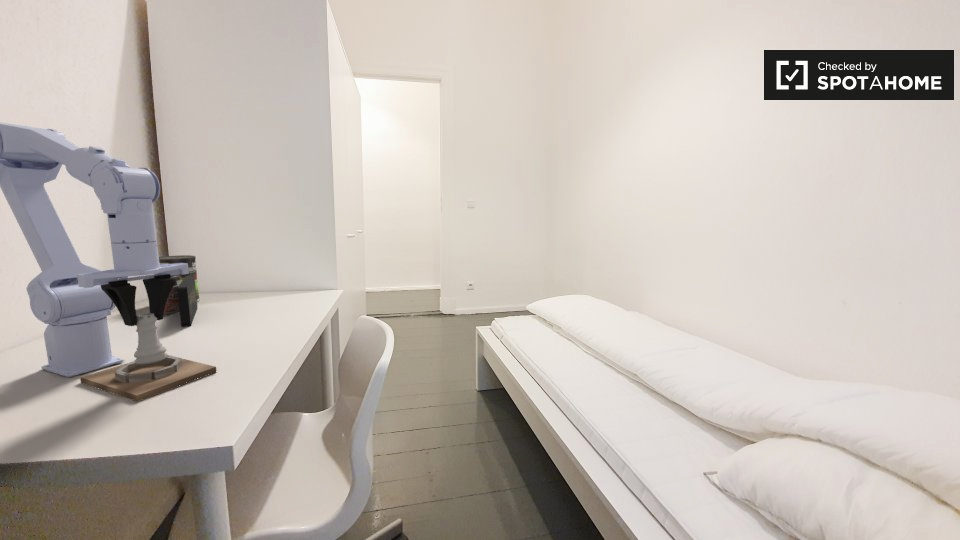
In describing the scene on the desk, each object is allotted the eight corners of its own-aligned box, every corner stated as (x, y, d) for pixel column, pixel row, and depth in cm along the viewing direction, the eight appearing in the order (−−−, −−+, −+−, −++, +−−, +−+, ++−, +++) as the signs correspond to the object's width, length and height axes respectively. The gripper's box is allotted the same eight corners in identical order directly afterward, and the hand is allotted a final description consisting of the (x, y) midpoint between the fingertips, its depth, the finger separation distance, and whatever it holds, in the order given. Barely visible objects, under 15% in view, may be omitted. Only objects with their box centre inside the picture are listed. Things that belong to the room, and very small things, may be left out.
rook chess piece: (149, 365, 65) (141, 318, 64) (127, 364, 65) (119, 318, 64) (174, 356, 69) (168, 311, 68) (154, 355, 70) (147, 311, 69)
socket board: (80, 382, 66) (79, 370, 65) (161, 358, 76) (160, 347, 76) (137, 401, 59) (135, 388, 59) (216, 372, 70) (215, 360, 70)
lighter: (167, 316, 106) (163, 279, 104) (155, 316, 106) (151, 279, 104) (190, 308, 114) (186, 274, 112) (178, 308, 114) (174, 274, 112)
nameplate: (190, 326, 97) (186, 287, 96) (181, 327, 96) (177, 287, 95) (197, 308, 115) (194, 274, 113) (189, 309, 114) (186, 275, 112)
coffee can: (205, 297, 128) (200, 254, 125) (192, 305, 118) (187, 258, 116) (167, 299, 125) (162, 255, 123) (151, 307, 115) (145, 259, 113)
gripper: (90, 246, 56) (103, 337, 58) (196, 240, 69) (203, 314, 72) (65, 244, 59) (78, 331, 61) (171, 238, 72) (179, 310, 74)
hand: (144, 322), depth 66 cm, fingers closed on rook chess piece, 3 cm apart
